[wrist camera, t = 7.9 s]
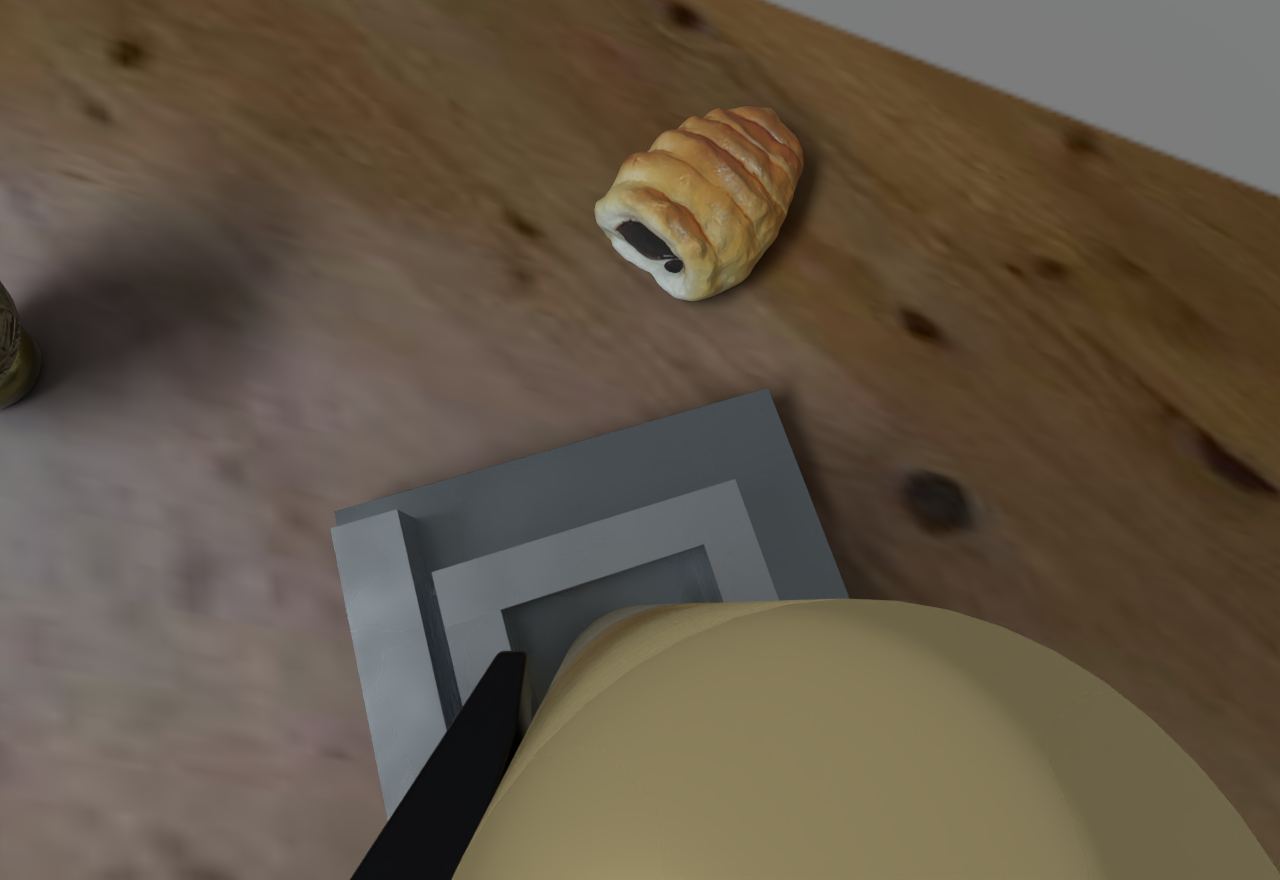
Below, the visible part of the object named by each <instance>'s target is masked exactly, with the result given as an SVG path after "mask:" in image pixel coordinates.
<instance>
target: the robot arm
mask: <svg viewBox="0 0 1280 880" xmlns="http://www.w3.org/2000/svg"><path fill="white" fill-rule="evenodd" d="M531 698H532V693H531V678H530V666H529V656H528V653H527V652H526V651H524V650H511V651H501V652H499V653H498V654H497V655H496V656H495V658H494V659H493V661H492V662H491V664H490V665H489V667H488V668H487V670H486V671H485V673H484V674H483V676H482V678H481V679H480V681H479V682H478V684H477V685H476V687H475V688H474V690H473V691H472V693H471V694H470V696H469V697H468V699H467V701H466V702H465V704H464V705H463V707H462V708H461V710H460V711H459V713H458V714H457V716H456V717H455V719H454V720H453V722H452V724H451V725H450V727H449V728H448V730H447V731H446V733H445V734H444V736H443V737H442V739H441V740H440V742H439V744H438V745H437V747H436V748H435V750H434V751H433V753H432V754H431V756H430V757H429V759H428V760H427V762H426V763H425V765H424V767H423V768H422V770H421V771H420V773H419V774H418V776H417V777H416V779H415V780H414V782H413V783H412V785H411V786H410V788H409V790H408V791H407V793H406V794H405V796H404V797H403V799H402V800H401V802H400V803H399V805H398V806H397V808H396V809H395V811H394V813H393V814H392V816H391V817H390V819H389V820H388V822H387V823H386V825H385V826H384V828H383V829H382V831H381V833H380V834H379V836H378V837H377V839H376V840H375V842H374V843H373V845H372V846H371V848H370V849H369V851H368V852H367V854H366V856H365V857H364V859H363V860H362V862H361V863H360V865H359V866H358V868H357V869H356V871H355V872H354V874H353V875H352V877H351V879H350V880H452V878H453V876H454V873H455V871H456V869H457V867H458V865H459V863H460V861H461V859H462V857H463V855H464V853H465V851H466V849H467V847H468V846H469V844H470V842H471V840H472V838H473V836H474V834H475V832H476V830H477V828H478V826H479V824H480V822H481V820H482V818H483V816H484V814H485V812H486V810H487V808H488V806H489V804H490V803H491V801H492V799H493V797H494V795H495V793H496V791H497V789H498V787H499V785H500V783H501V781H502V779H503V777H504V775H505V773H506V771H507V769H508V767H509V765H510V763H511V761H512V760H513V758H514V756H515V754H516V752H517V750H518V748H519V746H520V744H521V742H522V740H523V738H524V736H525V734H526V732H527V730H528V728H529V726H530V720H531Z"/></svg>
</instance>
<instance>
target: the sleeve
mask: <svg viewBox="0 0 1280 880" xmlns="http://www.w3.org/2000/svg"><path fill="white" fill-rule="evenodd" d="M452 880H1280V873H1279V872H1278V870H1277V869H1276V867H1275V866H1274V864H1273V863H1272V861H1271V860H1270V858H1269V857H1268V855H1267V854H1266V852H1265V851H1264V849H1263V848H1262V846H1261V845H1260V843H1259V842H1258V841H1257V839H1256V838H1255V836H1254V835H1253V833H1252V832H1251V830H1250V829H1249V827H1248V826H1247V824H1246V823H1245V821H1244V820H1243V818H1242V817H1241V815H1240V814H1239V813H1238V812H1237V811H1236V809H1235V808H1234V807H1233V806H1232V805H1231V803H1230V802H1229V801H1228V800H1227V799H1226V797H1225V796H1224V795H1223V794H1222V793H1221V791H1220V790H1219V789H1218V788H1217V787H1216V785H1215V784H1214V783H1213V782H1212V781H1211V779H1210V778H1209V777H1208V776H1207V774H1206V773H1205V772H1204V771H1203V770H1202V768H1201V767H1200V766H1199V765H1198V764H1197V763H1196V762H1195V761H1194V760H1193V759H1192V758H1191V757H1190V756H1189V755H1188V754H1187V753H1186V752H1185V751H1184V750H1183V749H1182V748H1181V747H1180V746H1179V745H1178V744H1177V743H1176V742H1175V741H1174V740H1173V739H1172V738H1171V737H1170V736H1169V735H1168V734H1167V733H1166V732H1165V731H1164V730H1163V729H1162V728H1161V727H1160V726H1158V725H1157V724H1156V723H1155V722H1154V721H1153V720H1152V719H1151V718H1150V717H1149V716H1147V715H1146V714H1145V713H1143V712H1142V711H1141V710H1140V709H1138V708H1137V707H1136V706H1135V705H1133V704H1132V703H1131V702H1130V701H1128V700H1127V699H1126V698H1124V697H1123V696H1122V695H1121V694H1119V693H1118V692H1117V691H1116V690H1114V689H1113V688H1112V687H1111V686H1109V685H1108V684H1107V683H1105V682H1104V681H1103V680H1101V679H1099V678H1098V677H1096V676H1094V675H1093V674H1091V673H1090V672H1088V671H1086V670H1085V669H1083V668H1082V667H1080V666H1078V665H1077V664H1075V663H1073V662H1072V661H1070V660H1069V659H1067V658H1065V657H1064V656H1062V655H1061V654H1059V653H1057V652H1056V651H1054V650H1052V649H1050V648H1047V647H1045V646H1043V645H1041V644H1039V643H1037V642H1035V641H1032V640H1030V639H1028V638H1026V637H1024V636H1022V635H1019V634H1017V633H1015V632H1013V631H1011V630H1009V629H1006V628H1004V627H1002V626H999V625H995V624H992V623H989V622H986V621H983V620H980V619H977V618H973V617H970V616H967V615H964V614H961V613H958V612H955V611H951V610H947V609H941V608H935V607H930V606H924V605H918V604H913V603H907V602H902V601H892V600H866V599H814V600H782V601H749V602H716V603H684V604H651V605H634V606H628V607H624V608H619V609H617V610H614V611H612V612H609V613H607V614H605V615H604V616H602V617H600V618H598V619H597V620H596V621H594V622H593V623H592V624H590V625H589V626H588V627H587V628H586V629H585V630H584V631H583V632H582V633H581V634H580V635H579V636H578V637H577V639H576V640H575V641H574V642H573V644H572V646H571V647H570V649H569V650H568V652H567V654H566V656H565V658H564V660H563V662H562V664H561V666H560V668H559V670H558V672H557V674H556V675H555V677H554V679H553V681H552V683H551V685H550V687H549V689H548V691H547V693H546V695H545V697H544V699H543V701H542V703H541V705H540V707H539V709H538V711H537V713H536V715H535V717H534V718H533V720H532V722H531V724H530V726H529V728H528V730H527V732H526V734H525V736H524V738H523V740H522V742H521V744H520V746H519V748H518V750H517V752H516V754H515V756H514V758H513V760H512V761H511V763H510V765H509V767H508V769H507V771H506V773H505V775H504V777H503V779H502V781H501V783H500V785H499V787H498V789H497V791H496V793H495V795H494V797H493V799H492V801H491V803H490V804H489V806H488V808H487V810H486V812H485V814H484V816H483V818H482V820H481V822H480V824H479V826H478V828H477V830H476V832H475V834H474V836H473V838H472V840H471V842H470V844H469V846H468V847H467V849H466V851H465V853H464V855H463V857H462V859H461V861H460V863H459V865H458V867H457V869H456V871H455V873H454V876H453V878H452Z"/></svg>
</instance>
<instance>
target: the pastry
mask: <svg viewBox="0 0 1280 880" xmlns="http://www.w3.org/2000/svg"><path fill="white" fill-rule="evenodd" d="M802 171H803V149H802V147H801V145H800V142H799V140H798V139H797V137H796V136H795V135H794V134H793V133H792V132H791V131H790V130H789V129H788V127H787V126H785V125H784V124H783V123H782V122H781V121H780V120H779V117H778V116H777V114H776V113H775V112H774V111H773V110H772V109H771V108H757V107H753V106H743V107H739V108H734V109H730V110H724V109H722V108H716V109H715V110H713V111H710V112H709V113H708V114H707V115H706V116H705V117H704V118H703V119H702V118H699V117H690V118H688V119H687V120H686V121H685V122H684V123H683V124H682V125H681V126H680V127H679V128H678V129H677V130H669V131H665V132H663V133H662V134H661V135H660V136H659V137H658V138H657V139H656V140H655V142H654V144H653V145H652V147H651V148H650V150H649V151H648V152H637V153H635V154H633V155H631V156H630V157H628V159H627V160H626V161H625V162H624V163H623V164H622V166H621V168H620V171H619V173H618V176H617V178H616V180H615V182H614V184H613V186H612V187H611V189H610V190H609V192H608V193H607V194H606V196H605V197H603V198H602V199H600V200H598V201H597V203H596V206H595V217H596V222H597V224H598V225H599V226H600V228H601V229H602V230H603V231H604V232H605V234H606V236H607V237H608V238H610V239H611V241H612V245H613V247H614V248H615V249H616V250H617V251H618V252H619V253H620V254H621V255H622V256H623V257H624V258H625V259H626V260H628V261H630V262H632V263H634V264H635V265H636V266H638V267H639V268H641V269H643V270H645V271H648V272H650V273H652V275H653V276H654V278H655V280H656V281H657V283H658V284H659V285H660V286H661V287H662V288H663V289H664V290H666V291H667V292H668V293H670V294H671V295H672V296H673V297H675V298H677V299H682V300H688V301H698V300H703V299H706V298H710V297H713V296H715V295H717V294H719V293H721V292H723V291H725V290H727V289H729V288H731V287H733V286H735V285H737V284H739V283H741V282H742V281H743V280H744V279H746V278H747V277H748V276H749V274H750V273H751V271H752V269H753V267H754V266H755V264H756V263H757V262H758V260H759V259H760V258H761V257H762V255H763V254H764V252H765V251H766V250H767V249H768V248H769V246H770V245H771V244H772V243H773V242H774V240H775V239H776V237H777V236H778V232H779V229H780V227H781V225H782V224H783V222H784V220H785V218H786V215H787V212H788V208H789V205H790V203H791V201H792V199H793V196H794V191H795V189H796V185H797V182H798V180H799V178H800V176H801V174H802Z"/></svg>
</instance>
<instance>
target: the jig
mask: <svg viewBox="0 0 1280 880" xmlns="http://www.w3.org/2000/svg"><path fill="white" fill-rule="evenodd" d="M335 517H336V522H337V527H334V528H331V533H332V538H333V544H334V549H335V554H336V559H337V564H338V569H339V574H340V579H341V584H342V589H343V595H344V600H345V605H346V610H347V615H348V620H349V625H350V630H351V635H352V640H353V645H354V651H355V656H356V661H357V666H358V671H359V676H360V681H361V686H362V691H363V696H364V702H365V707H366V712H367V717H368V722H369V727H370V732H371V737H372V742H373V747H374V753H375V758H376V763H377V768H378V773H379V778H380V783H381V788H382V793H383V798H384V803H385V809H386V814H387V819H388V820H389V819H390V817H391V816H392V814H393V813H394V811H395V809H396V808H397V806H398V805H399V803H400V802H401V800H402V799H403V797H404V796H405V794H406V793H407V791H408V790H409V788H410V786H411V785H412V783H413V782H414V780H415V779H416V777H417V776H418V774H419V773H420V771H421V770H422V768H423V767H424V765H425V763H426V762H427V760H428V759H429V757H430V756H431V754H432V753H433V751H434V750H435V748H436V747H437V745H438V744H439V742H440V740H441V739H442V737H443V736H444V734H445V733H446V731H447V730H448V728H449V727H450V725H451V724H452V722H453V720H454V719H455V717H456V716H457V714H458V713H459V711H460V710H461V708H462V707H463V705H464V704H465V702H466V701H467V699H468V697H469V696H470V694H471V693H472V691H473V690H474V688H475V687H476V685H477V684H478V682H479V681H480V679H481V678H482V676H483V674H484V673H485V671H486V670H487V668H488V667H489V665H490V664H491V662H492V661H493V659H494V658H495V656H496V655H497V654H498V653H499V652H501V651H511V650H524V651H526V652H527V653H528V656H529V666H530V678H531V693H532V698H531V720H530V724H531V722H532V720H533V718H534V717H535V715H536V713H537V711H538V709H539V707H540V705H541V703H542V701H543V699H544V697H545V695H546V693H547V691H548V689H549V687H550V685H551V683H552V681H553V679H554V677H555V675H556V674H557V672H558V670H559V668H560V666H561V664H562V662H563V660H564V658H565V656H566V654H567V652H568V650H569V649H570V647H571V646H572V644H573V642H574V641H575V640H576V639H577V637H578V636H579V635H580V634H581V633H582V632H583V631H584V630H585V629H586V628H587V627H588V626H589V625H590V624H592V623H593V622H594V621H596V620H597V619H598V618H600V617H602V616H604V615H605V614H607V613H609V612H612V611H614V610H617V609H619V608H624V607H628V606H634V605H651V604H684V603H716V602H749V601H782V600H814V599H850V598H849V596H848V593H847V590H846V588H845V585H844V583H843V580H842V578H841V575H840V572H839V570H838V567H837V565H836V562H835V559H834V557H833V554H832V552H831V549H830V547H829V544H828V541H827V539H826V536H825V534H824V531H823V529H822V526H821V523H820V521H819V518H818V516H817V513H816V511H815V508H814V505H813V503H812V500H811V498H810V495H809V492H808V490H807V487H806V485H805V482H804V480H803V477H802V474H801V472H800V469H799V467H798V464H797V462H796V459H795V456H794V454H793V451H792V449H791V446H790V444H789V441H788V438H787V436H786V433H785V431H784V428H783V425H782V423H781V420H780V418H779V415H778V413H777V410H776V407H775V405H774V402H773V400H772V397H771V395H770V392H769V389H768V388H766V389H763V390H759V391H755V392H752V393H748V394H745V395H741V396H738V397H734V398H731V399H727V400H724V401H720V402H717V403H713V404H710V405H706V406H703V407H699V408H696V409H692V410H689V411H685V412H682V413H678V414H675V415H671V416H668V417H664V418H661V419H657V420H654V421H650V422H647V423H643V424H640V425H636V426H633V427H629V428H626V429H622V430H619V431H615V432H612V433H608V434H605V435H601V436H598V437H594V438H591V439H587V440H584V441H580V442H577V443H573V444H570V445H566V446H563V447H559V448H556V449H552V450H549V451H545V452H542V453H538V454H535V455H531V456H528V457H524V458H520V459H517V460H513V461H510V462H506V463H503V464H499V465H496V466H492V467H489V468H485V469H482V470H478V471H475V472H471V473H468V474H464V475H461V476H457V477H454V478H450V479H447V480H443V481H440V482H436V483H433V484H429V485H426V486H422V487H419V488H415V489H412V490H408V491H405V492H401V493H398V494H394V495H391V496H387V497H384V498H380V499H377V500H373V501H370V502H366V503H363V504H359V505H356V506H352V507H349V508H345V509H342V510H338V511H335Z"/></svg>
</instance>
